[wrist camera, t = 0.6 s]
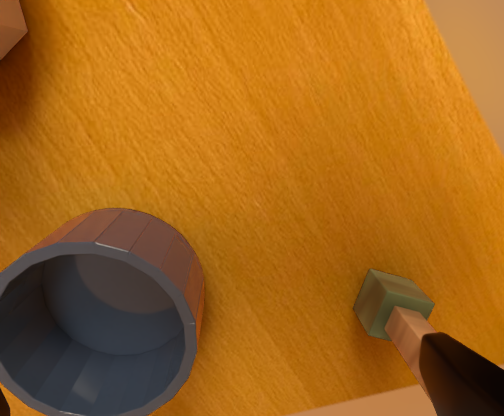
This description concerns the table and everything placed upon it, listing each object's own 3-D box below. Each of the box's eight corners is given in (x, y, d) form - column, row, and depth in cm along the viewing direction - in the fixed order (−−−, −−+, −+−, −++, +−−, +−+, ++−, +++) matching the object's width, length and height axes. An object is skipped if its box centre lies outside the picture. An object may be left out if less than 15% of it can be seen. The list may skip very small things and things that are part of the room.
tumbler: (182, 371, 26) (168, 442, 20) (26, 336, 24) (-32, 402, 19) (224, 234, 23) (221, 275, 18) (51, 186, 22) (-7, 215, 16)
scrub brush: (393, 318, 25) (492, 456, 16) (351, 308, 25) (426, 441, 15) (412, 279, 24) (527, 398, 15) (369, 267, 24) (459, 381, 14)
